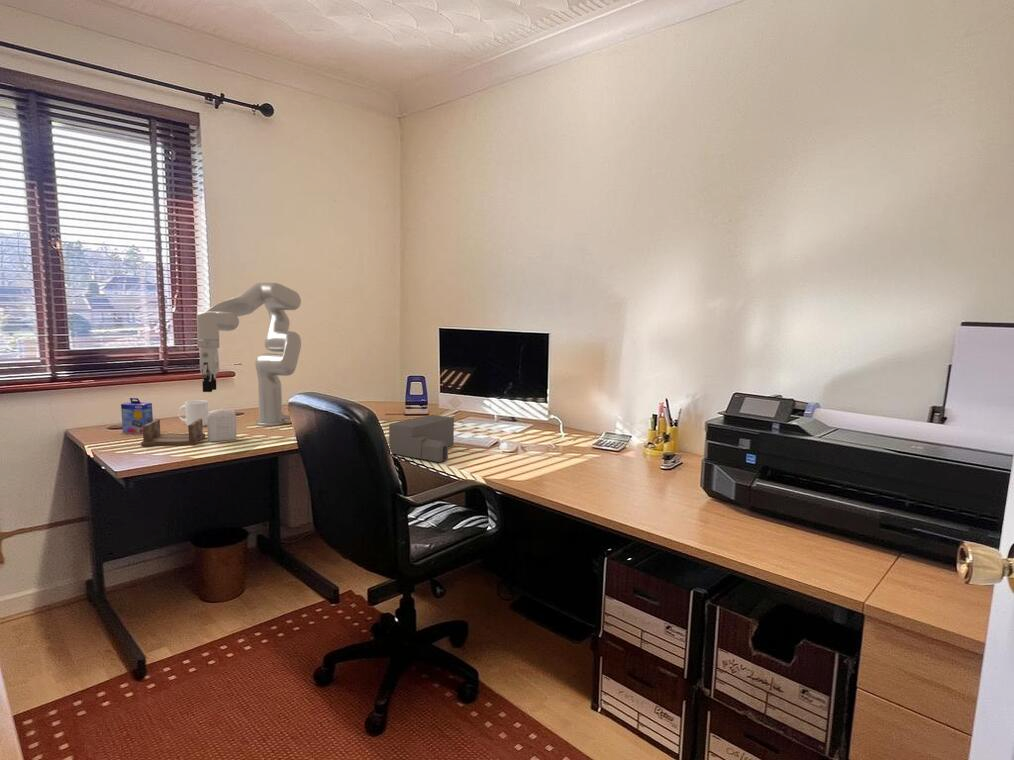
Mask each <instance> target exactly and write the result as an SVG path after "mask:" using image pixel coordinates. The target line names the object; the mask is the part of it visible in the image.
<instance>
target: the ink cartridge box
mask: <svg viewBox="0 0 1014 760" xmlns="http://www.w3.org/2000/svg"><path fill="white" fill-rule="evenodd" d="M120 407H121V408H120V409H121V410H120V411H121V423H122V425H121V427H122V428H121V429H122V433H124V434H143V426H144V425H146V424H148V423H150V422H152V421H154V418H153V403H152V402H141V401H140V400H139V398H137V397H136V398H135V397H129V402H123V403H121V404H120Z"/></svg>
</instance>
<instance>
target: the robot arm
mask: <svg viewBox="0 0 1014 760" xmlns="http://www.w3.org/2000/svg"><path fill="white" fill-rule="evenodd" d="M301 304H302V298H301V296H300V294H299V292H297V291H295V290H293V289H291V288H289V287H288V286H285V285H283V284H281V283H278V282H256V283H255V284H253V285H252V286H250V287H249V288H247V289H246V290H245V291H243V292H241V293H240V294H238V295H237V296H234V297H232V298H228V299H226V300H223V301H221V302H217V303H216V304H214V305H212V306H210V307H209V308H208V309H206V310H205V311H199V312H197V314H196V339H197V340H196V341H197V342H196V344H197V349H199V350H200V351H199V370H200V374H202V392H203V393H212V392H213V391H217V375H216V374H218V373H219V372H220V359H219V358H220V357H219V349H220V331H221V332H222V331H223V332H231V331H233V330H234V331H235V330H236V329H237V328H238V326H239V324H240V319H239V317H243V316H247V315H250V314H252V313H254V312H255V311H256V310H257V309H259V308H260V307H262V305H264V307H265V308H266V311H267V313H268V316H269V323H268V327H267V330H266V336H265V339H264V347H265V349H266V350H267V351H270V352H273V353H270V352H269V353H268V352H267V353H266V352H265V353H261V354H259V355H258V356H257V357H256V358H255V363H254V364H255V365H254V366H255V370H256V376H257V384H258V386H257V387H258V390H257V391H258V420H256V421H255V422H254V423H255V425H256V426H260V427H261V426H262V427H263V426H264V427H272V426H273V427H275V426H280V425H281V424H282V425H284V423H285V422H286V421H287V420H288V421H289V420H290V414H284V412H283V407H282V405H283V404H282V403H283V401H282V399H283V398H282V382H281V380H280V377H279V376H281V377H282V376H284V377H288V376H291V375H293V374H295V371H296V368H297V365H298V361H299V357H300V352H301V349H302V338H301V336H300V334H299V333H298V332H296V331H291V330H290V331H289V329H290V319H289V317H288V314H287V313H286V311H296V310H297V309H299V308H300V307H301ZM290 421H291V420H290ZM286 423H287V422H286ZM286 423H285V424H286Z"/></svg>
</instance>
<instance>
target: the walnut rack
mask: <svg viewBox="0 0 1014 760" xmlns="http://www.w3.org/2000/svg"><path fill="white" fill-rule="evenodd" d="M187 427H188V433H161V420H160V419H157V418H155V419H153V421H152V422H150V423H148V424H146V425H144V426H143V435H142V439H143V440H142V441H141V442H140V446H141V447H163V446H167V447H168V446H195V445H197V444H198V443H199V442H200V441H202V440H203V439H204V438H205V437H206V433H205V432H204V431H203V430H204V429H203V428H204V426H202V419H198V420H196V421H194V422H193V423H191V424H190V425H188V426H187Z"/></svg>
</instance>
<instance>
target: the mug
mask: <svg viewBox="0 0 1014 760" xmlns="http://www.w3.org/2000/svg"><path fill="white" fill-rule="evenodd" d="M184 403H185V404H183V405H181V407H179V409H178V412H177V413H178V418H179V420H180V421H181V422H183V423H185V425H186V427H188V425H190V424H191V423H193V422H194V421H196V420H198V419H202V427H204V426H205V425H206V426H207V416H208V412H209V401H208V400H205V399H204V400H203V399H202V400H201V399H200V400H199V399H196V400H186V401H185V402H184ZM184 409H185V418H183V417H181V414H180V413H181V411H182V410H184ZM206 426H205V427H206Z"/></svg>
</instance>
